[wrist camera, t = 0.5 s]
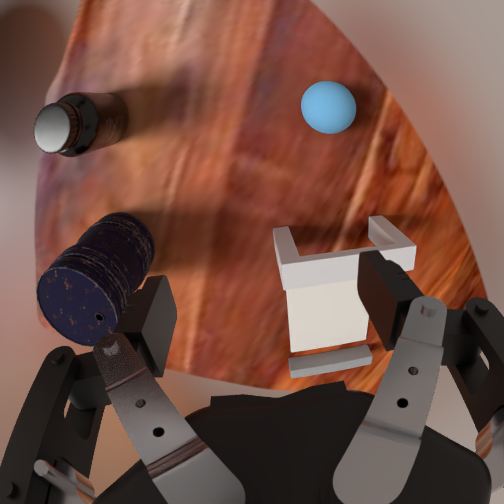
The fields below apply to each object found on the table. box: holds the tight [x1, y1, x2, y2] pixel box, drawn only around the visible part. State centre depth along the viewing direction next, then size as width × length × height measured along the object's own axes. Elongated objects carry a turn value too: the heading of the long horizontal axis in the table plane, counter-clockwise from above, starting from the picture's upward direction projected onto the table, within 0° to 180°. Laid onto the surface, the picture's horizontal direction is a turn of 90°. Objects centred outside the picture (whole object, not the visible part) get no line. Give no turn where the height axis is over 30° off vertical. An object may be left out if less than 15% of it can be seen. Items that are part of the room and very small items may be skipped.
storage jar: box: [36, 213, 155, 347], centre depth 32 cm, size 10×10×15 cm
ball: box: [301, 81, 356, 134], centre depth 29 cm, size 6×6×6 cm
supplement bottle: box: [34, 92, 129, 157], centre depth 26 cm, size 7×7×12 cm
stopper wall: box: [288, 344, 372, 378], centre depth 48 cm, size 2×14×3 cm, turn 97°
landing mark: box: [286, 279, 369, 352], centre depth 45 cm, size 13×13×1 cm
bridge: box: [273, 215, 416, 290], centre depth 34 cm, size 3×15×10 cm, turn 97°
